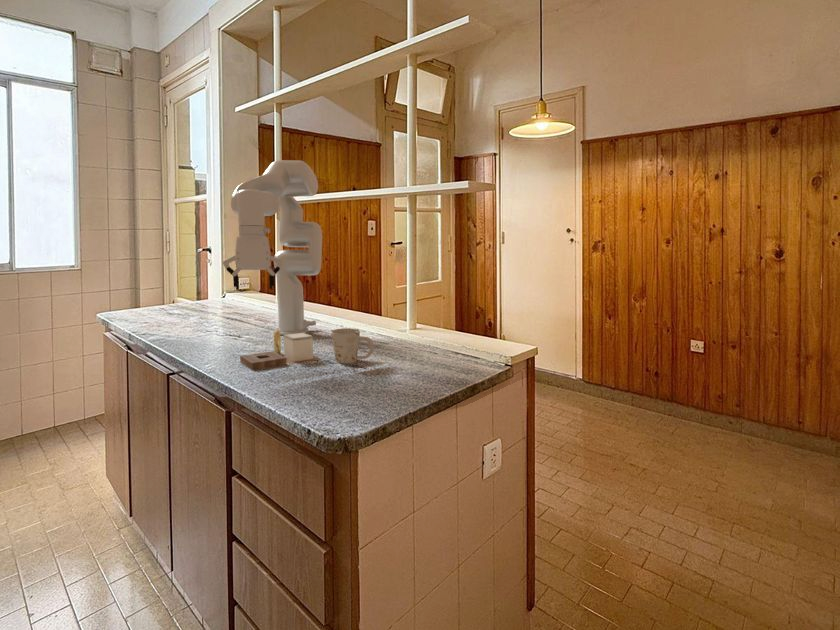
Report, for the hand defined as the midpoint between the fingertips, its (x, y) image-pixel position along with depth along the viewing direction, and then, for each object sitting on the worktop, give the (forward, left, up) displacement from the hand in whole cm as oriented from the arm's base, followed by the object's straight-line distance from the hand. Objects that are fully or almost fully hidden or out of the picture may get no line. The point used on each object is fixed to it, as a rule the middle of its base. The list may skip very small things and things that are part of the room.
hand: (254, 288), depth 157 cm
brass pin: (-6, +3, -22) cm, 22 cm away
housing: (-9, +12, -21) cm, 25 cm away
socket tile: (+2, +12, -22) cm, 25 cm away
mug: (-21, +24, -22) cm, 38 cm away
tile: (-9, +12, -22) cm, 26 cm away
